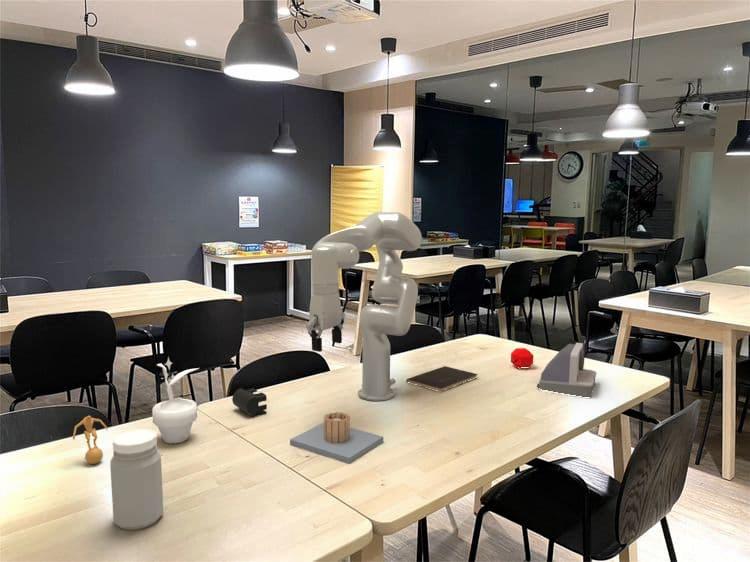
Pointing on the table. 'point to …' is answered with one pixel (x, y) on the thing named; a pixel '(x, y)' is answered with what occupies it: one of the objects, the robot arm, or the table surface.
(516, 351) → the ball
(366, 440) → the post stand
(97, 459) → the figurine
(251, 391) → the end cap
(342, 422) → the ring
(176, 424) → the potted plant
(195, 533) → the table surface
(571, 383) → the grey angular piece
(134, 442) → the jar
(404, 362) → the table surface
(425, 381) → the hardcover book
